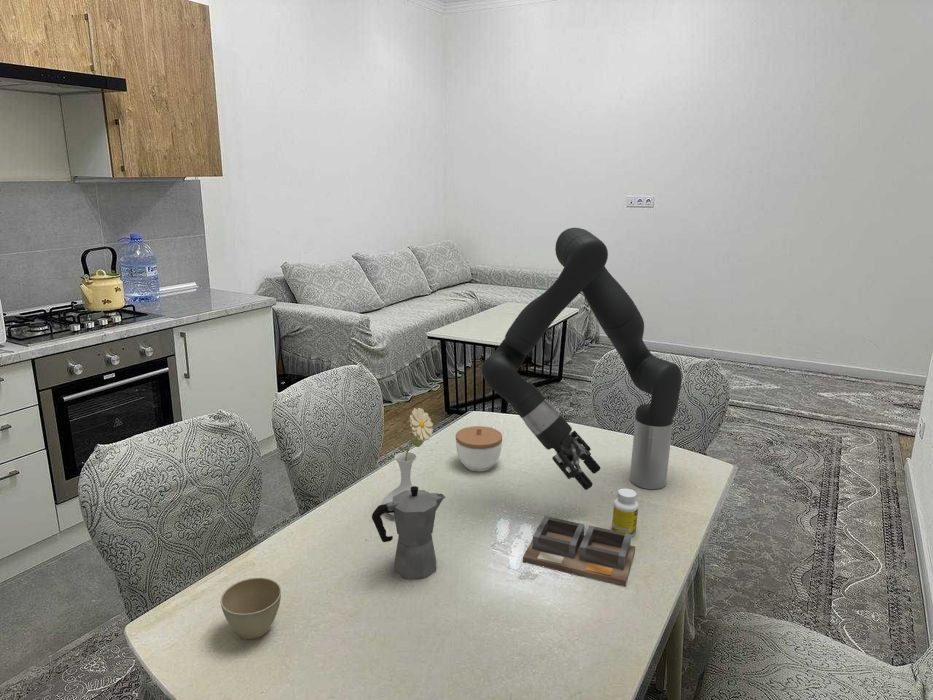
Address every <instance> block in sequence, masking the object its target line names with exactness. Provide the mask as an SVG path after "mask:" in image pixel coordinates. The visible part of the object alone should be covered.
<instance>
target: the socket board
mask: <svg viewBox="0 0 933 700" xmlns="http://www.w3.org/2000/svg"><path fill="white" fill-rule="evenodd" d="M585 526H586V525H585V524H584V523H580V522H575V521H571V520H566V519H561V518H556V517H552V516H548V515H547V516H546V515H544V516H543V518H542V519H541V522H540V523H539V525H538V526H537V528H536V530H535V531H534V534H533V535H532V540H531V542H530V543H529V545H528V546H527V549H526V550H525V552H524V554H523V556H522V562H523V563H526V562H527V564H530V563H531V565H534V564H535V566H539V565H540V566H539V567H543V566H544V568H547V569H551V570H556V571H559V572H560V571H561V572H563V573H568V574H573V575H577V576H580V577H584V578H588V579H589V578H590V579H593V580H596V581H602V582H605V583H610V584H612V585H613V584H614V585H618V586H622V587H627V586H626V585H627V581H628V578H629V574H630V571H631V567H632V563H633V560H634V556H635V553H636V546H634V545H631V542H632V537H631V534H628V533H623V532H618V531H614V530H612V529H608V528H603V527H598V526H594V525H590V524H589V525H588V526H587V530H586V531H585Z"/></svg>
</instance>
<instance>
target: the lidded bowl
mask: <svg viewBox="0 0 933 700" xmlns="http://www.w3.org/2000/svg"><path fill="white" fill-rule="evenodd" d="M502 444H503V435H502V433H501V432H500V431H499V430H497V429H496V428H493V427H489V426H483V425H480V426H479V425H475V426H474V425H473V426H467V427H464V428H461V429H459V430H458V431H457V432H456V433H455V446H456V447H455V448H456V452H457V453H456V454H457V456H458V459H459V461H460V462H461V463H462V465H464V466H465V468H466V469H467V470H469V471H472V472H485V471H489V470H490V469H491V468H492V467H493V466H494V465H495V464H496V463H497V462H498V460H499V458H500V456H501V452H502Z"/></svg>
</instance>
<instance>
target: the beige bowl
mask: <svg viewBox="0 0 933 700" xmlns="http://www.w3.org/2000/svg"><path fill="white" fill-rule="evenodd" d="M281 598H282V588H281V586H280V584H279V583H278V582H277V581H275V580H274V579H272V578H266V577H251V578H246V579H243V580H239V581H237V582H235V583H234V584H232V585H229V587H227V588H226V589H225V590H224V591H223V593H222V595H221V597H220V607H221V610H222V613H223V615H224V617H225V619H226V621H227V623H228V625H229V626H230V627H231V629H232V630H233V631H234V632H235V633H236V634H237V635H238V636H239V637H241V638H242V639H246V640H255V639H258V638H261V637H263V636H264V635H265V634H266V633H268V631H269V630H270V628H271V626H272V624H273V623H274V621H275V619H276V617H277V614H278V611H279V607H280V603H281Z"/></svg>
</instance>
